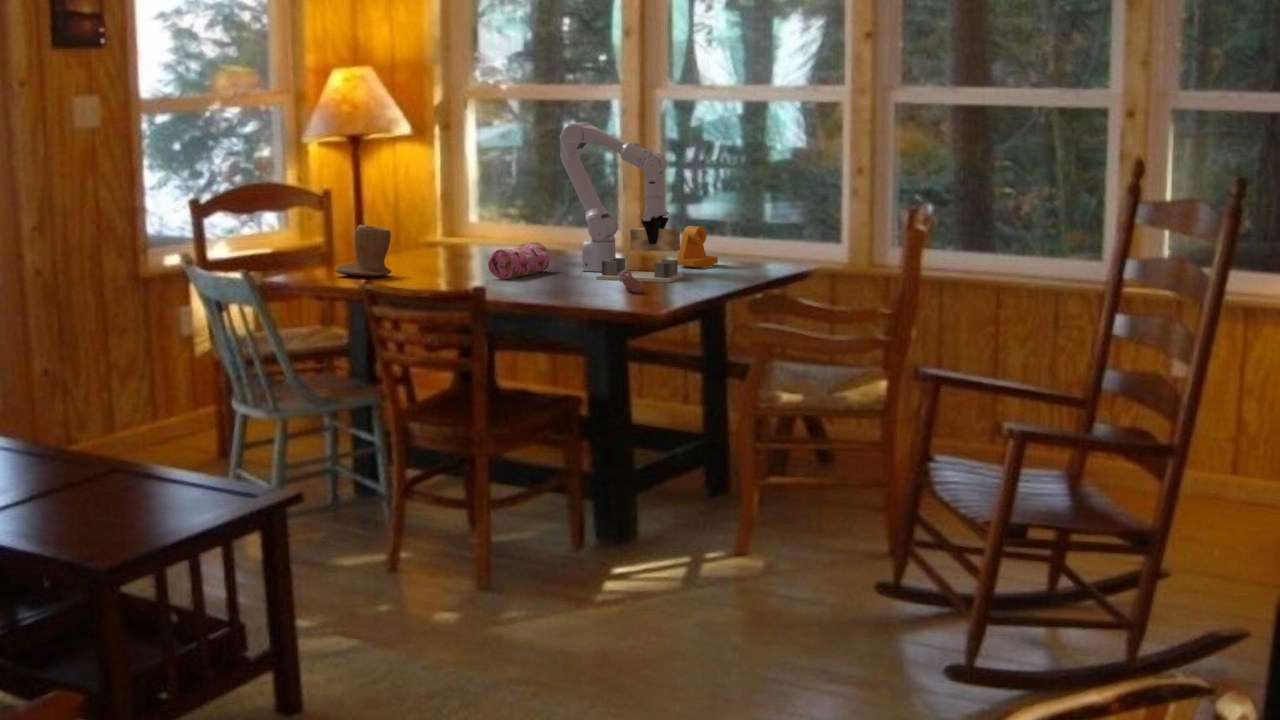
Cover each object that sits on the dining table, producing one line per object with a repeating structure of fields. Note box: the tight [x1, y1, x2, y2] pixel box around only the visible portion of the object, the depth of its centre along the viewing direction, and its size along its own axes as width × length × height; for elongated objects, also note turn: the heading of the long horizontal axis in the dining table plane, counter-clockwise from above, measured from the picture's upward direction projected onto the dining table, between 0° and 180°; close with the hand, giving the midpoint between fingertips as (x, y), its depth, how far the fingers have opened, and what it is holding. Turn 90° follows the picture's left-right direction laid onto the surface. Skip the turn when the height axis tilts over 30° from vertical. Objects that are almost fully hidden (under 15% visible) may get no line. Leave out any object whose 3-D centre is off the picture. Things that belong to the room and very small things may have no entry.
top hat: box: [334, 224, 392, 278], centre depth 503 cm, size 15×12×15 cm
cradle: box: [595, 257, 684, 283], centre depth 493 cm, size 22×12×5 cm, turn 69°
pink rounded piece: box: [618, 269, 644, 294], centre depth 469 cm, size 10×5×7 cm, turn 5°
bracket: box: [676, 225, 719, 269], centre depth 515 cm, size 11×7×12 cm, turn 138°
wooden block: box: [630, 227, 681, 252], centre depth 503 cm, size 14×4×6 cm, turn 69°
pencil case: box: [487, 241, 551, 280], centre depth 501 cm, size 21×9×9 cm, turn 152°
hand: (655, 243), depth 503 cm, fingers closed on wooden block, 3 cm apart
